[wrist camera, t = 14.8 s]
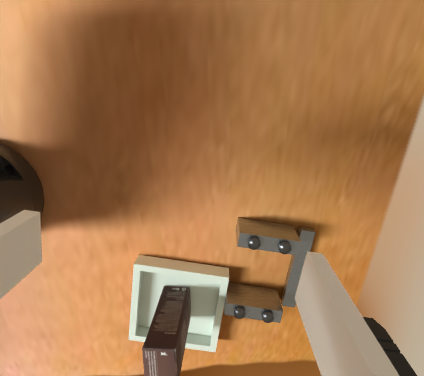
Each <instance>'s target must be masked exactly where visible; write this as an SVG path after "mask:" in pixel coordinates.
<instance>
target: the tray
mask: <svg viewBox="0 0 424 376" xmlns="http://www.w3.org/2000/svg"><path fill="white" fill-rule="evenodd" d="M228 282H229V268H227V267H220V266H213V265H206V264H199V263H192V262H186V261H179V260H172V259H165V258H158V257H152V256H145V255H138V257H137V259H136V261H135V263H134V270H133V285H132V299H131V313H130V328H129V340H134V341H141V342H145V340H146V337H147V334H148V331H149V328H150V325H151V322H152V319H153V316H154V313H155V311H156V307H157V305H158V302H159V299H160V296H161V293H162V290H163V287H164V286H188V287H190V299H191V318H190V323H189V329H188V334H187V339H186V345H185V348H189V349H196V350H203V351H210V352H216V346H217V341H218V335H219V330H220V325H221V319H222V314H223V309H224V303H225V298H226V292H227V287H228Z"/></svg>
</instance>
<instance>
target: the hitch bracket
mask: <svg viewBox="0 0 424 376" xmlns="http://www.w3.org/2000/svg"><path fill="white" fill-rule="evenodd" d="M314 236H315V231H314V229H313V228H306V227H300V226H299V230H298V234H297V233H296V231H295V229H294V227H293V225H286V224H279V223H272V222H266V221H259V220H252V219H245V218H238V221H237V227H236V237H237V246H238V247H245V248H250V249H253V250H256V249H258V250H265V251H272V252H279V253H282V254H292V257H291V261H290V265H289V269H288V273H287V277H286V281H285V285H284V289H283V293H282V297H281V302H280V298H279V295H278V291H277V289H274V288H267V287H260V286H253V285H246V284H239V283H233V282H228V287H227V292H226V298H225V303H224V315H230V316H235V317H236V318H238V319H242V318H250V319H257V320H263V321H264V322H266V323H270V322H278V323H280V321H281V317H282V313H283V309H282V306H288V307H295V305H296V301H295V294H296V291H297V287H298V283H299V280H300V276H301V272H302V269H303V265H304V261H305V258H306V254H307V251H308V252H310V250H311V246H312V243H313V239H314ZM281 304H282V306H281Z"/></svg>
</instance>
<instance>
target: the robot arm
mask: <svg viewBox="0 0 424 376" xmlns="http://www.w3.org/2000/svg"><path fill="white" fill-rule="evenodd" d="M42 210H43V191H42V187H41V184H40V181H39V179H38V177H37V175H36V173H35V171H34V170H33V168H32V167H31V166H30V165H29V163H28V162H27V161H26V160H25V159H24V158H23V157H22V156H21V155H19V154H18V153H17V152H15V151H14V150H12V149H11V148H9V147H7V146H5V145H3V144H1V143H0V299H1V298H2V297H3V296H4V295H5V294H6V293H8V292H9V291H10V290H11V289H12V288H13V287H14V286H15V285H16V284H18V283H19V282H20V281H21V280H22V279H23V278H24V277H25V276H26V275H28V274H29V273H30V272H31V271H32V270H33V269H34V268H35V267H36V266H37V265H39V264H40V263H41V262H42V247H41V222H40V216H41V213H42ZM295 301H296V304H297V307H298V310H299V313H300V316H301V318H302V321H303V324H304V327H305V330H306V333H307V336H308V339H309V341H310V344H311V347H312V350H313V353H314V356H315V359H316V362H317V364H318V367H319V370H320V373H321V376H417V375H416V373H415V372H414V370H413V369H412V368H411V366H410V365H409V363H408V362H407V360H406V359H405V357H404V356H403V355H402V354H401V353H400V350H399V349H398V347H397V346H396V344H394V343H393V340H392V339H391V337H390V336H389V335H388V333H387V332H386V330H385V329H384V328H383V327H382V326H381V325H380V324H378V323H377V322H376V321H375V320H374V319H373V318H366V317H362V315H361V314H360V312H359V311H358V309H357V307H356V306H355V304H354V303H353V301H352V299H351V298H350V296H349V295H348V293H347V291H346V290H345V288H344V287H343V285H342V283H341V282H340V280H339V279H338V277H337V276H336V274H335V272H334V271H333V269H332V268H331V266H330V264H329V263H328V261H327V260H326V258H325V256H324V255H323V254H322V253H315V252H308V251H307V254H306V258H305V261H304V265H303V269H302V272H301V276H300V280H299V283H298V287H297V291H296V294H295Z"/></svg>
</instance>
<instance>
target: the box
mask: <svg viewBox="0 0 424 376" xmlns="http://www.w3.org/2000/svg"><path fill="white" fill-rule="evenodd" d="M190 318H191V299H190V287H188V286H164V287H163V290H162V293H161V296H160V299H159V302H158V305H157V307H156V311H155V313H154V316H153V319H152V322H151V325H150V328H149V331H148V334H147V337H146V340H145V342H144V345H143V348H142V351H143V363H144V374H145V376H180V371H181V366H182V360H183V355H184V350H185V345H186V339H187V334H188V329H189V323H190Z"/></svg>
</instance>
